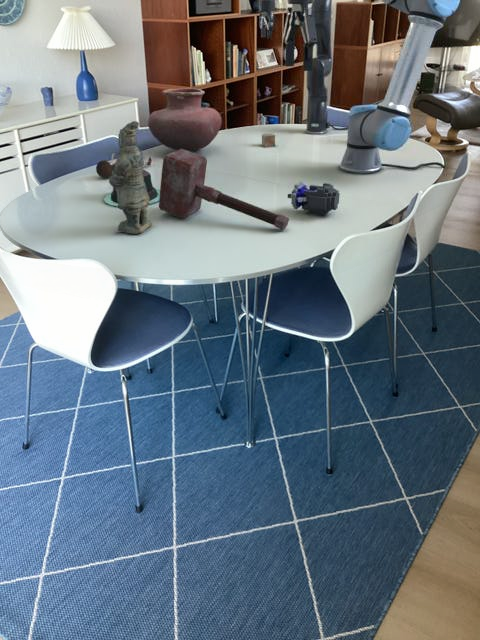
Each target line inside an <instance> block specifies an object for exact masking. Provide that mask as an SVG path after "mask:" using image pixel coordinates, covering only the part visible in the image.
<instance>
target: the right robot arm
mask: <svg viewBox="0 0 480 640" xmlns="http://www.w3.org/2000/svg"><path fill="white" fill-rule="evenodd" d="M286 2H287V4H288V5H292V6H288V7H287V8H286V17H285V23H284V29H283V33H282V41H284V43H285V61H284V66H285V67H295V49H296V47H295V46H296V45H295V44H296V40H295V38H296V35H297V32H298V29H299V27H300V30H301V35H302V38H303V41H304V43H303V45H302V47H303V51H302V52H303V54H302V55H303V57H302V59H303V60H302V71H303V72H307V71H312V63H313V58H314V47H315V46H316V44H317V35H316V28H315V21H314V8H311V7H309V5H310V4H311V5H312V3H313V0H287V1H286ZM381 2H382V3H384V4H385V5H388V6H389V7H391V8H394V9H395V10H398V11H400V12H402V13H403V14H406V15H407V19H408V22H409V27H408V29H407V32H406V34H405V38H404V41H403V44H402V47H401V50H400V52H399V55H398V58H397V61H396V64H395V67H394V70H393V74H392V76H391V79H390V82H389V83H388V88H387V91H386V92H385V96H384V99H383V100H382V101H381V102H379V103H377V104H362V105H354V106H353V105H352V107H351V108H350V109H349V113H348V126H347V127H348V129H347V138H346V139H347V140H346V149H345V151H344V154H343V156H342V158H341V162H340V170H341V171H343V172H345V173H349V174H355V175H356V174H357V175H369V174H370V175H371V174H376V173H378V172H380V171H382V167H385V168H395V169H403V170H411V171H412V170H418V169H420V168H421V167H428V166H439V167H441V168H442V169H447V167H446V166H445V165H444V164H443V163H442V162H437V161H434V162H433V161H432V162H427V163H425V162H424V163H420V164H418V165H415V166H405V165H399V164H392V163H391V164H390V163H382V161H381V155H380V150H382V151H387V152H393V151H397V150H398V149H400V148H402V147H403V146H404V145H405V144H406V143H407V142H408V141H409V138H410V136H411V134H412V126H411V122H410V121H409V120H410V117H411V110H410V109H409V106H410V104H411V101H412V98H413V95H414V93H415V90H416V88H417V85H418V81H419V79H420V76H421V74H422V70H423V67H424V65H425V62H426V59H427V57H428V55H429V52H430V48H431V45H432V43H433V41H434V37H435V35H436V32H437V31H438V30H439V29H441V28H443V27H444V24H445V21H446V19H447V17H450V16H451V15H452V14H454V13H455V12H456V10H457V9H458V7H459V5H460V3H461V0H381Z"/></svg>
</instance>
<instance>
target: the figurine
mask: <svg viewBox="0 0 480 640" xmlns="http://www.w3.org/2000/svg"><path fill="white" fill-rule="evenodd" d="M114 157H115V153H112V154H111V160H105V159H103V160H99V161H98V162H97V163H96V166H95V172H96V174H97V175H98V177H100V178H102V179H108V178H111V176H112V173H113V172H114V170H115V164H116V162H114ZM152 160H153V159H152V157H151V156H149V157H148V160H147V161H146V162H144V166H151V165H152Z"/></svg>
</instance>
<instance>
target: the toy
mask: <svg viewBox="0 0 480 640" xmlns="http://www.w3.org/2000/svg"><path fill="white" fill-rule="evenodd" d="M293 187H294V188H293V189H292V191H291V193H288V194H287V199H291V200H290V201H291V202H290V203H291V206H292V207H293V210H298V209H299V208H301V210H303V211H306V212H307V214H310V215H311V214H312V215H318V216H326V215H328V213H330V212H331V211H336V210H337V209H338V205H339V204H340V194H341V193H340V190H338V189H337V188H335V187H334V184H332V183H328V182H324V183H322V185H315V184H310V185H309V186H308V187H309V188H308V187H307V185H306V184H305V183H304V181H301V180H299V181H298V182H296V183H295V184H294V186H293Z"/></svg>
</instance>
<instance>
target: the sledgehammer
mask: <svg viewBox="0 0 480 640" xmlns="http://www.w3.org/2000/svg"><path fill="white" fill-rule="evenodd" d="M207 164H208V159H207V158H206V157H205V156H203V155H200V154H197V153H195V152H190V151H187V150H184V149H179V150H174V151H172V152H169V153H167V154H165V155H164V156H163V158H162V167H161V176H160V187H159V190H160V198H159V200H158V208H159V210H160V211H162V212H165V213H168V214H170V215H173V216H174V217H177V218H180V219H182V220H185V219H187V218H188V217H190V216H192V215H193V214H195V213H197V212H198V211H199V210H200V209H201V207H202V201H203V200H204V201H207V202H209V203H213V204H215V205H220V206H223V207H225V208H228V209H231V210H233V211H236V212H239V213H241V214H243V215H245V216H248V217H252V218H255V219H257V220H260V221H262V222H264V223H267V224H270V225H273V226H274V228H276V229H280V230H282V231H285V230H286V228H287V227H288V224H289V221H290V218H289V217H288V216H286V215H283V214H281V213H279V214H277V213H275V212H273V211H269V210H267V209H265V208H262V207H259V206H256V205H254V204H251V203H248V202H246V201H244V200H242V199H238V198H236V197H233V196H231V195H228V194H225V193H223V192H222V191H220V190H218V189H215V188H214V187H211V186H208V185H205V181H206V175H207Z"/></svg>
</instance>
